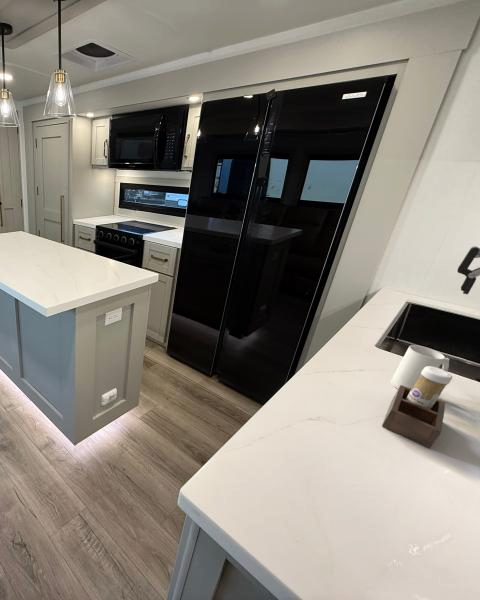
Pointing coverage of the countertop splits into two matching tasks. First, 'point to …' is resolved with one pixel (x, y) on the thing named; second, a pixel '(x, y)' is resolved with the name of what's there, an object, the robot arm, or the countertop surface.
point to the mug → (417, 365)
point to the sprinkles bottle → (429, 386)
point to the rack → (414, 419)
